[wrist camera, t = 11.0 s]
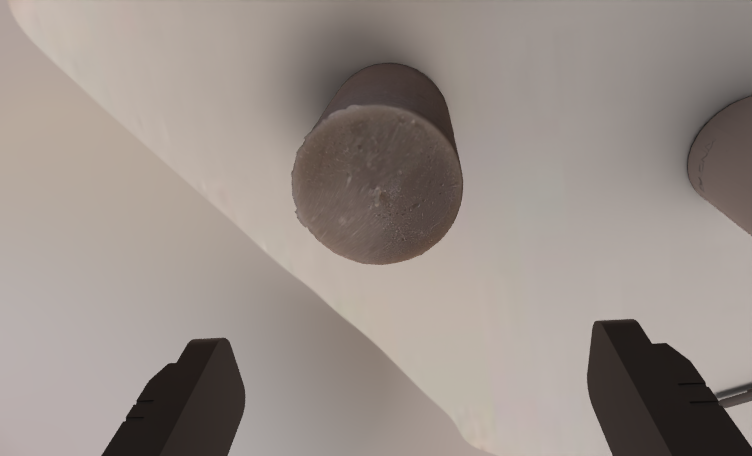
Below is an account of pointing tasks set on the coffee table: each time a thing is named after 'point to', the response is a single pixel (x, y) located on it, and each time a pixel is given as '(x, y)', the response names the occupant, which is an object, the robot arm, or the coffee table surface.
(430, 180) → the pillar candle
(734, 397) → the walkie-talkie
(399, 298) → the coffee table surface
